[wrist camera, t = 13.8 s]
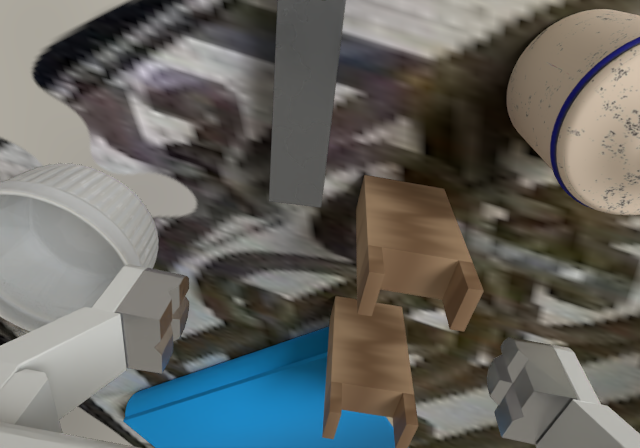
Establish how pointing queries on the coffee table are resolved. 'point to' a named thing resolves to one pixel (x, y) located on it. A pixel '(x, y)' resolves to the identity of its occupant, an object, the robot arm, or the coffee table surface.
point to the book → (254, 404)
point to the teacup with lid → (584, 106)
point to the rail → (303, 97)
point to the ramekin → (67, 240)
